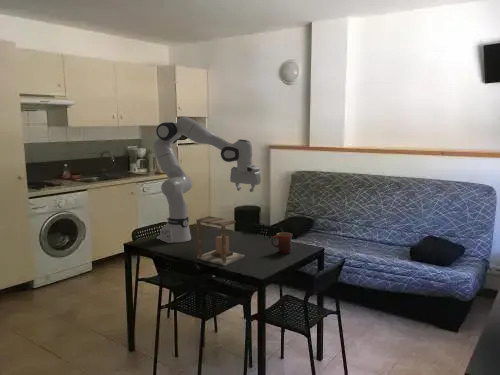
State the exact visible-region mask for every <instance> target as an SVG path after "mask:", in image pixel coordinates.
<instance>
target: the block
mask: <svg viewBox="0 0 500 375" xmlns="http://www.w3.org/2000/svg"><path fill="white" fill-rule="evenodd" d="M215 250H216V253H217V254H221V255H222V234H221V235H219V236H216V237H215ZM229 252H230V236H228V235H226V254H227V253H229Z"/></svg>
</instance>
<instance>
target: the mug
mask: <svg viewBox="0 0 500 375" xmlns="http://www.w3.org/2000/svg"><path fill="white" fill-rule="evenodd" d="M274 238H276V239H277V244H274V240H273V239H274ZM292 238H293V233H291V232H286V231H285V232H284V231H283V232H277V233H276V235H273V236H271V237H270V244H271V245H272V247H275V248H277V251H278V252H277V253H279V254H280V255H281V254H282V255H288V254H290V253H291V252H292Z"/></svg>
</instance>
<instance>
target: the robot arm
mask: <svg viewBox="0 0 500 375" xmlns="http://www.w3.org/2000/svg"><path fill="white" fill-rule="evenodd" d="M156 136H157V137H158V138H157V139H156V140H155V141H154V142H153V150H154V154H155V156H156V159H157V162H158V165H159V167H160V170H161V172H162V173H163V174H165V175H166V176H167V178H168V179H166V180H165V181H163V182H162V183H161V186H160V189H161V192H162V194H163V195H164V196H165V198H166V201H167V204H168V213H169V215H168V216H169V217H166V221H167V223H166V224H165V225H164V226H162V227H161V229H160V231H159V232H160V235H157V236H156V240H159V239H160V240H159V241H162V242H165V243H167V244H171V243H172V244H173V243H185V242H189V241H191V240H192V234H191V231H190V225H189V220H190V219H189V215H188V203H187V202H186V201H185V198H184V194H186V193H187V192H189V191H190V190H191V189H192V188H193V180H192V178H191V177H190V176H188V175H187V174H186V172H185V170H184V169H183V168H182V166H181V165H180V163H179V160H178V158H177V156H176V153H175V151H174V148H173V144H175V143H177V142H178V141H179V140H180V139H181V138H182V137H186V138H188V139H189V140H190V141H191V142H195V143H196V144H200V145H201V144H202V145H208V146H209V145H211V146H213V147H215V148H216V149H218V150H220V157H221V159H222V160H223V161H224V162H226V163H233V162H236V166H232V167H231V169H230V175H229V179H230V183H232V184H235V187H236V191H238V192H239V191H241V190H242V187H241V186H240V184H244V185H250V188H249V192H250V193H253V192H254V189H255V187H256V186H257V185H260V184H261V172H260V170H261V169H260V167H259V166H256V165H255V164H253V158H252V157H253V147H252V143H251V141H250V140H247V139H243V138H242V139H238V140H237V141H235V142H233V143H232V142H231V143H230V142H229V141H226V140H225V139H223V138H221V137H220V136H218V135H216V134H215V133H213V131H211V130H210V129H208V128H207V127H206V126H204V125H203V124H202V123H199V121H196V120H194V119H193V118H191V117H188V116H181V117H179V118H178V120H177V121H176V122H173V121H172V122H167V121H165V122H162V123H159V125H158V126H157V127H156Z"/></svg>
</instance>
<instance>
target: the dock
mask: <svg viewBox="0 0 500 375" xmlns="http://www.w3.org/2000/svg"><path fill="white" fill-rule="evenodd" d="M195 221H196V239H197V242H196V243H197V244H196V245H197V258H196V259H198V260H201V261H206V262H209V263H213V264H217V265H221V266H227V265H229V264H231V263H234V262H237V261H239V260H241V259H244V258H245V257H246V254H241V253H238V252H234V251H229V253H227V254H226V236H227V235H226V227H227V226H231V225H234V224H236V220H233V219H229V218H221V217H215V216H209V215H208V216H204V217H200V218H197V219H196V218H195ZM201 224H205V225H213V226H216V227H217V226H219V227H221V235H222V255H221V254H217V253H216V249H215V250H214V249H213V250H211V251H209V252H206V253H203V254H202V231H201V230H202V229H201V228H202V227H201Z"/></svg>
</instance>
